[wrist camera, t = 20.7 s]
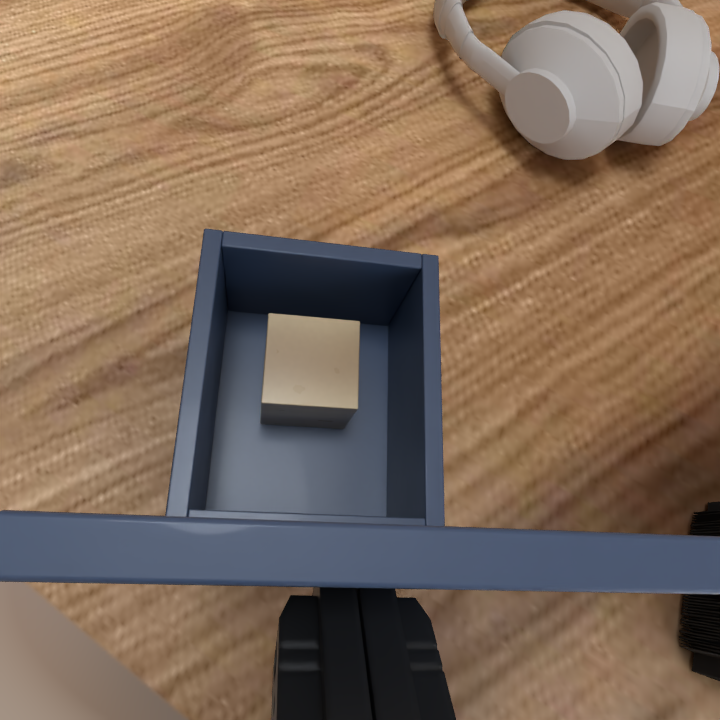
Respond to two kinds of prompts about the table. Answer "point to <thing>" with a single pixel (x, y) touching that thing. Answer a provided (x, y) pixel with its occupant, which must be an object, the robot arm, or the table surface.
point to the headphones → (595, 74)
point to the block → (310, 371)
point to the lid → (347, 555)
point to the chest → (311, 444)
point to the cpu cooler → (704, 608)
